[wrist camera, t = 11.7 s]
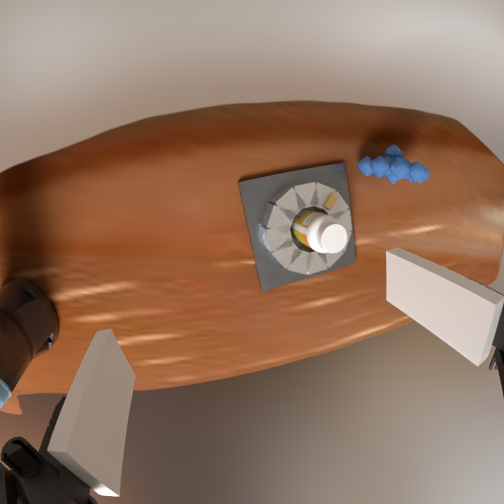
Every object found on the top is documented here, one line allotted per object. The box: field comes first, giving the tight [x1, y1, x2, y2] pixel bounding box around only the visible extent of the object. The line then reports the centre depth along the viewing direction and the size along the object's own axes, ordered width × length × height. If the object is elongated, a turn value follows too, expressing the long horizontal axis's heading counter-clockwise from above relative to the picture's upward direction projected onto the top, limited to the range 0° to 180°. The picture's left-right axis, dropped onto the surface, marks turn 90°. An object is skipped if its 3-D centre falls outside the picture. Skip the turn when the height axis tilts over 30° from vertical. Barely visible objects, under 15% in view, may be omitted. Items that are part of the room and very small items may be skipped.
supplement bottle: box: [292, 210, 347, 253], centre depth 39 cm, size 5×5×10 cm
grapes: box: [358, 145, 430, 184], centre depth 39 cm, size 12×7×12 cm, turn 88°
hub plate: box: [238, 163, 356, 291], centre depth 43 cm, size 18×18×5 cm
